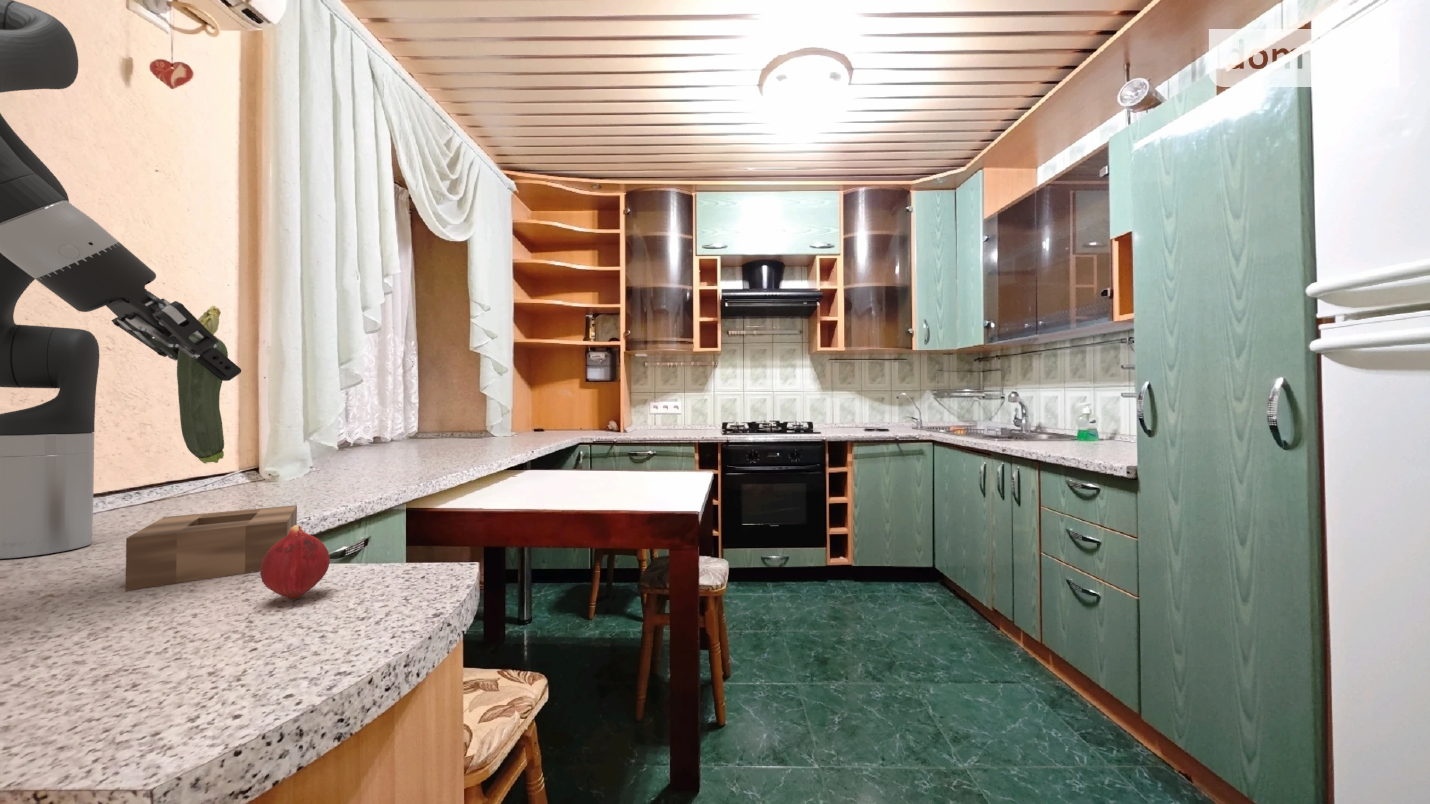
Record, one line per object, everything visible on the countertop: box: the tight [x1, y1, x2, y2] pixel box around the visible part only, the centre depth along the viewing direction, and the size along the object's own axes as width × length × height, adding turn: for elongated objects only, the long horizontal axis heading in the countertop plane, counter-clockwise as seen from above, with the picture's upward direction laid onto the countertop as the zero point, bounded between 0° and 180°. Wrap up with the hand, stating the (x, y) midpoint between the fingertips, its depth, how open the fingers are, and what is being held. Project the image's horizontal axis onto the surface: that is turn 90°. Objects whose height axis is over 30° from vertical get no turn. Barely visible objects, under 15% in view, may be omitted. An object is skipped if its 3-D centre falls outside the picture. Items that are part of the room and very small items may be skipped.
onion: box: [259, 524, 331, 600], centre depth 54 cm, size 6×6×8 cm
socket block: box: [124, 504, 298, 591], centre depth 66 cm, size 14×14×6 cm
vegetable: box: [176, 305, 229, 465], centre depth 61 cm, size 4×4×20 cm
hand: (224, 376), depth 63 cm, fingers closed on vegetable, 4 cm apart
